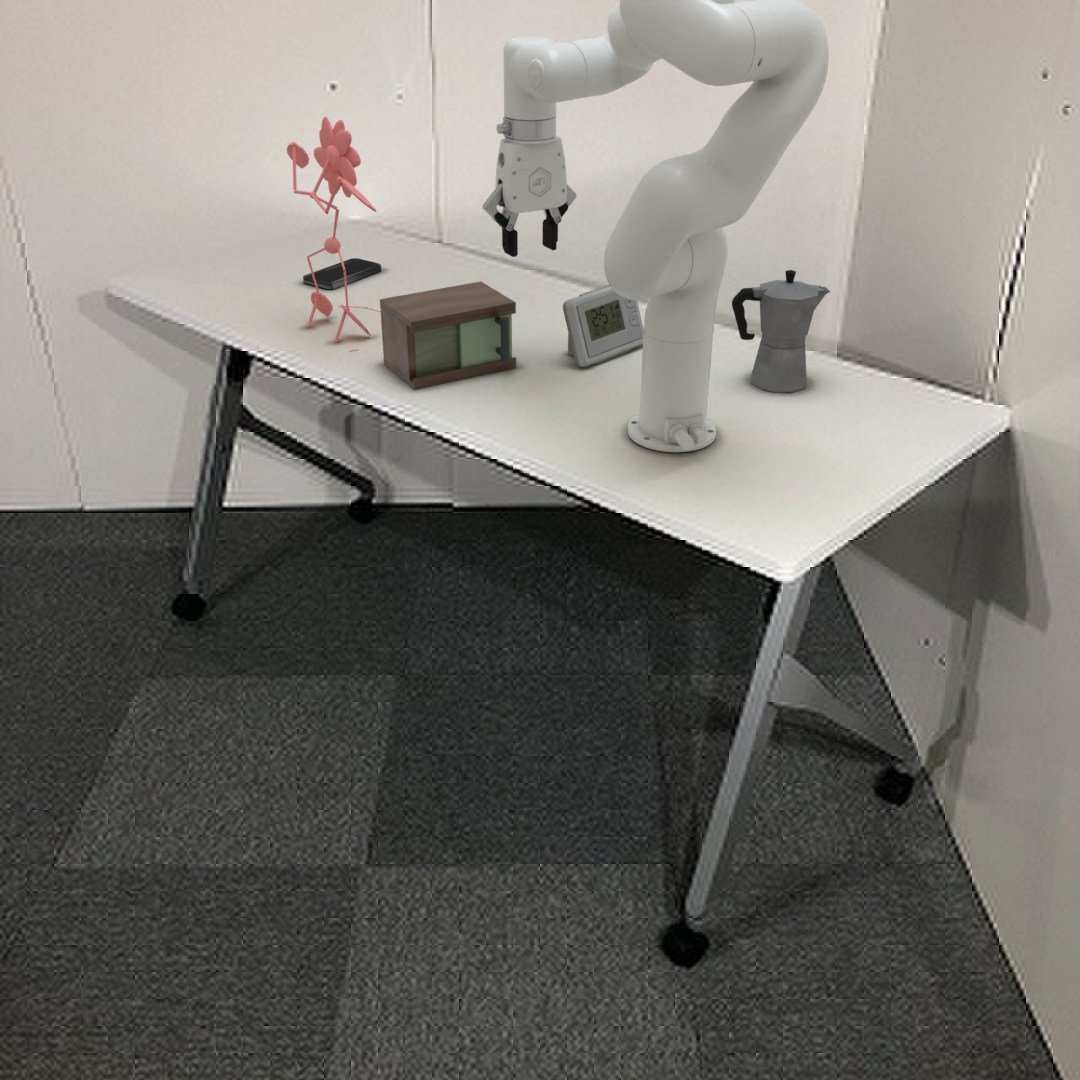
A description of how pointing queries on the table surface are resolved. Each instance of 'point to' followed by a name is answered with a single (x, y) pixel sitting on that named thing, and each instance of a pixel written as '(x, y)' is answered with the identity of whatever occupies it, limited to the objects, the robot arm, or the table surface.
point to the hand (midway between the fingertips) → (530, 250)
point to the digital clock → (601, 326)
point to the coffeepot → (780, 330)
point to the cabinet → (438, 332)
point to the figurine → (339, 173)
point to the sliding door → (485, 341)
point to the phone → (342, 273)
